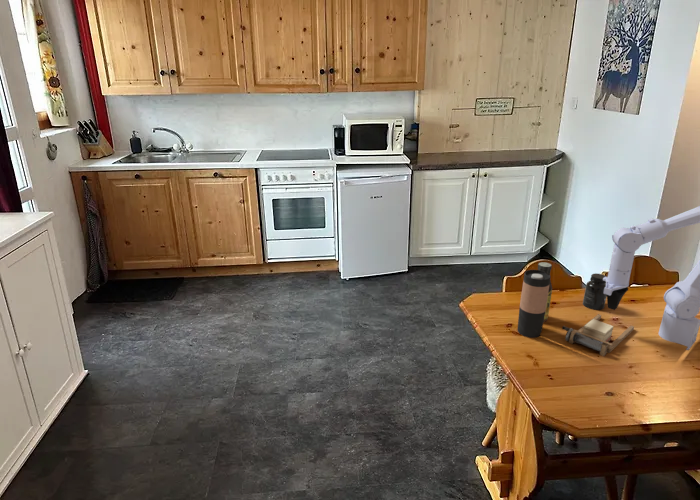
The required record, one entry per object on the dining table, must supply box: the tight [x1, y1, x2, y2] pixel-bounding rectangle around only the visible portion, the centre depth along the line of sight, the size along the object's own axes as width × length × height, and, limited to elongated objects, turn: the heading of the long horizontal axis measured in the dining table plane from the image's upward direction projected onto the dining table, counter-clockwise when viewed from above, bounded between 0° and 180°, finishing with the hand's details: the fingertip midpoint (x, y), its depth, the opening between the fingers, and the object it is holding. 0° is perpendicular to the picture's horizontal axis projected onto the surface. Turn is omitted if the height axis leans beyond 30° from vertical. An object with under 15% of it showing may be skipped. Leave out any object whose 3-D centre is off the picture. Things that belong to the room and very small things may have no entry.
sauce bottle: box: [537, 261, 553, 323], centre depth 158 cm, size 6×6×20 cm
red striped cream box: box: [583, 318, 614, 343], centre depth 147 cm, size 6×6×5 cm
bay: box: [573, 313, 635, 354], centre depth 151 cm, size 11×19×4 cm, turn 133°
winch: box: [561, 325, 608, 357], centre depth 145 cm, size 13×4×5 cm, turn 43°
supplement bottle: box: [582, 272, 607, 311], centre depth 167 cm, size 7×7×12 cm
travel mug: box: [517, 269, 552, 339], centre depth 151 cm, size 8×8×20 cm
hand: (612, 308), depth 150 cm, fingers closed
